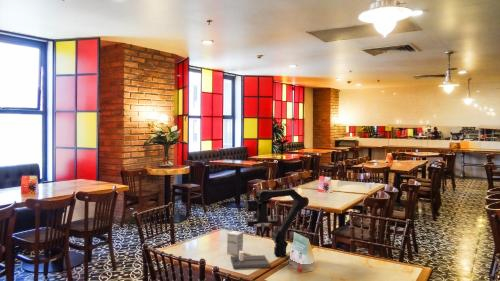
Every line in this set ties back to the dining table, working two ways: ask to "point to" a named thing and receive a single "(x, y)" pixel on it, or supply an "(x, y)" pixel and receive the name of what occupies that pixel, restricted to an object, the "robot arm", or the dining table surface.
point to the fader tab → (241, 255)
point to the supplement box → (234, 242)
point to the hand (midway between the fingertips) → (262, 237)
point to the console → (249, 262)
